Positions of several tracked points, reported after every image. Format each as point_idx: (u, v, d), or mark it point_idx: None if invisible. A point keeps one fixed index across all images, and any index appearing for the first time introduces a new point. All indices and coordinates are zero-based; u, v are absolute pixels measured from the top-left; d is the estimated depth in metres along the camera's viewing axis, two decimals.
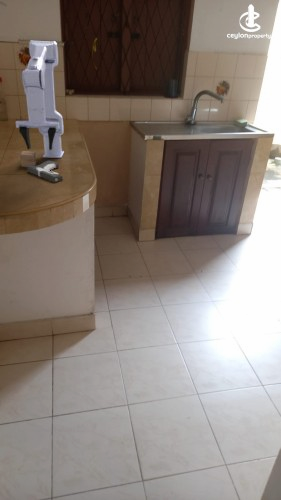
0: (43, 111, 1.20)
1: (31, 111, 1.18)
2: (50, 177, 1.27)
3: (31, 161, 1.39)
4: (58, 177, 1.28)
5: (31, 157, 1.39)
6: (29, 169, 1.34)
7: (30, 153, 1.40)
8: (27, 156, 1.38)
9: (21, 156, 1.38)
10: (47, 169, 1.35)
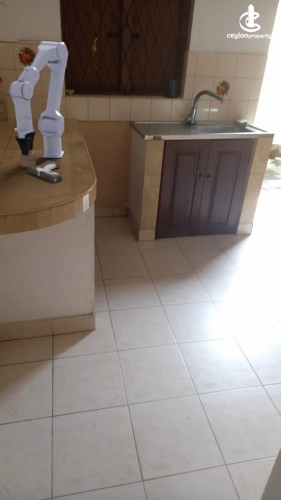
0: (19, 119, 1.31)
1: None
2: (49, 177, 1.27)
3: (31, 161, 1.39)
4: (57, 177, 1.27)
5: (31, 157, 1.39)
6: (29, 169, 1.34)
7: (30, 153, 1.40)
8: (27, 156, 1.38)
9: (21, 156, 1.38)
10: (47, 169, 1.35)
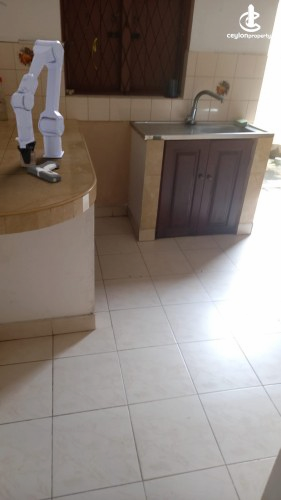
0: (20, 129, 1.33)
1: None
2: (48, 177, 1.27)
3: (31, 161, 1.39)
4: (56, 177, 1.27)
5: (31, 157, 1.39)
6: (29, 169, 1.34)
7: None
8: None
9: (21, 156, 1.38)
10: (47, 169, 1.35)
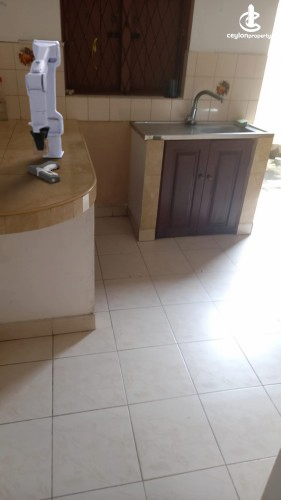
0: (34, 113, 1.25)
1: None
2: (47, 177, 1.27)
3: (44, 148, 1.31)
4: (55, 178, 1.27)
5: (44, 144, 1.30)
6: (29, 169, 1.34)
7: None
8: None
9: (33, 143, 1.30)
10: (47, 169, 1.35)
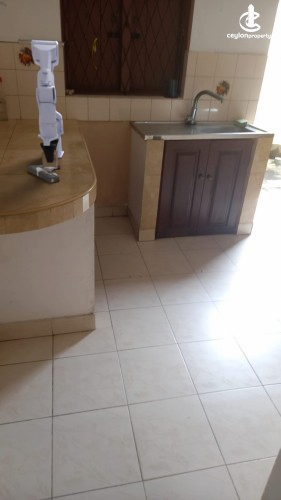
0: (44, 125, 1.24)
1: None
2: (47, 178, 1.27)
3: (53, 160, 1.31)
4: (55, 178, 1.27)
5: None
6: (29, 169, 1.34)
7: None
8: None
9: (43, 155, 1.30)
10: (47, 169, 1.35)
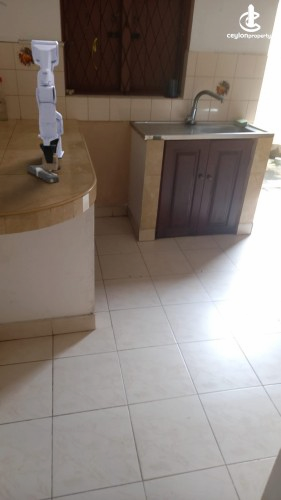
0: (44, 125, 1.24)
1: None
2: (46, 178, 1.27)
3: (53, 163, 1.31)
4: (54, 178, 1.27)
5: (53, 159, 1.31)
6: (29, 169, 1.34)
7: None
8: None
9: (43, 158, 1.30)
10: (47, 170, 1.34)
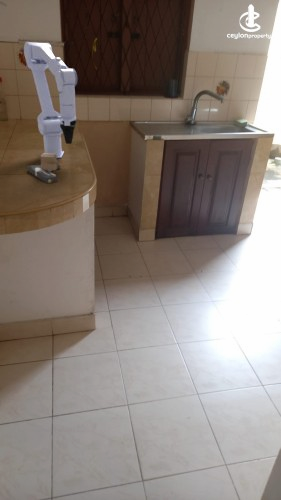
0: (64, 107, 1.31)
1: None
2: (44, 178, 1.26)
3: (52, 163, 1.31)
4: (52, 178, 1.26)
5: (52, 159, 1.30)
6: (28, 169, 1.35)
7: (51, 155, 1.31)
8: (48, 158, 1.30)
9: (41, 158, 1.30)
10: (46, 170, 1.34)
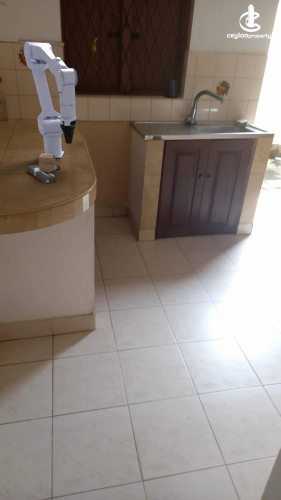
0: (64, 107, 1.31)
1: None
2: (42, 178, 1.26)
3: (50, 164, 1.31)
4: (50, 179, 1.26)
5: (50, 160, 1.30)
6: (28, 169, 1.35)
7: (49, 156, 1.31)
8: (46, 159, 1.29)
9: (39, 159, 1.29)
10: None
